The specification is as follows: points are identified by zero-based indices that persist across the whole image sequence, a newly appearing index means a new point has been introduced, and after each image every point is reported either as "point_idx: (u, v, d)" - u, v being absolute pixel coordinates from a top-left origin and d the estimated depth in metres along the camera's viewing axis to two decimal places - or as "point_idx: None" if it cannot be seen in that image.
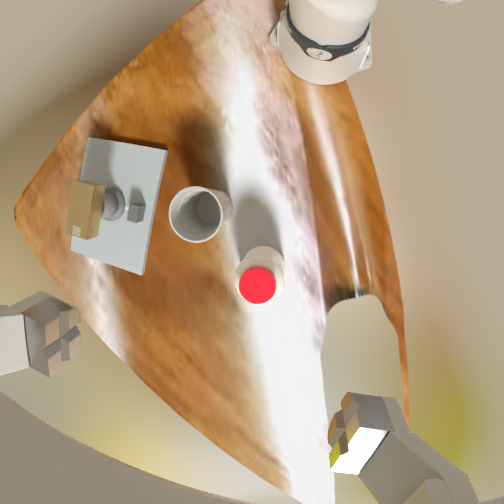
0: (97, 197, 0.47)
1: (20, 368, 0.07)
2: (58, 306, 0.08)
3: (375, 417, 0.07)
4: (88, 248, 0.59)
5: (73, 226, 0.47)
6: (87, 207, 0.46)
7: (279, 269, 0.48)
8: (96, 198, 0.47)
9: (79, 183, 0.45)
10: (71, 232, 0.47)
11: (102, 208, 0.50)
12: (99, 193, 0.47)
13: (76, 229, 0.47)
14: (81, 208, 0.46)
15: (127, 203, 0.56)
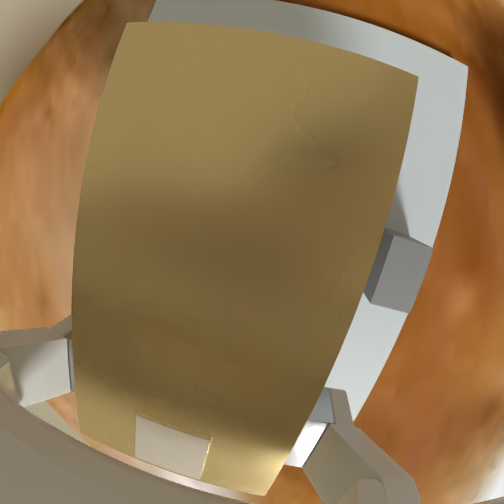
0: None
1: (61, 393, 0.07)
2: None
3: (316, 408, 0.07)
4: None
5: (136, 424, 0.06)
6: (321, 294, 0.05)
7: None
8: None
9: (213, 34, 0.04)
10: (125, 445, 0.06)
11: None
12: None
13: (166, 442, 0.06)
14: (232, 300, 0.05)
15: None
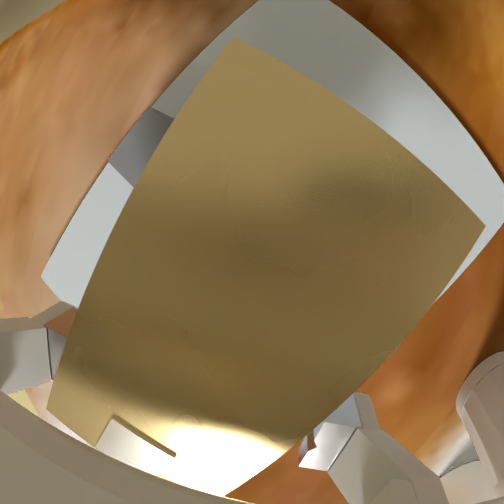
0: None
1: (42, 382, 0.07)
2: None
3: (343, 413, 0.07)
4: None
5: (108, 424, 0.06)
6: (322, 381, 0.05)
7: None
8: None
9: (323, 102, 0.04)
10: (89, 434, 0.06)
11: None
12: None
13: (131, 445, 0.06)
14: (243, 363, 0.05)
15: None
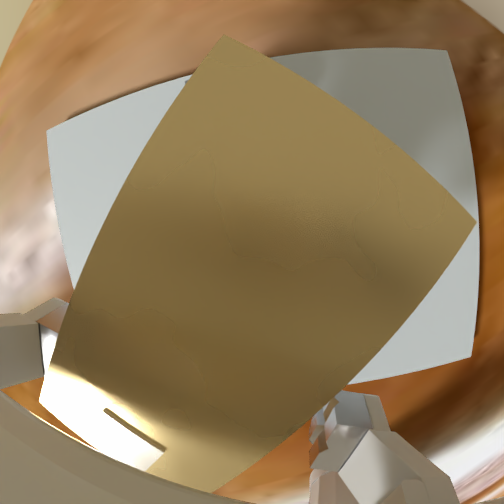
0: None
1: (34, 377, 0.07)
2: None
3: (354, 415, 0.07)
4: (74, 196, 0.16)
5: (98, 417, 0.06)
6: (310, 377, 0.05)
7: None
8: None
9: (311, 97, 0.04)
10: (80, 428, 0.06)
11: None
12: None
13: (121, 439, 0.06)
14: (230, 357, 0.05)
15: None
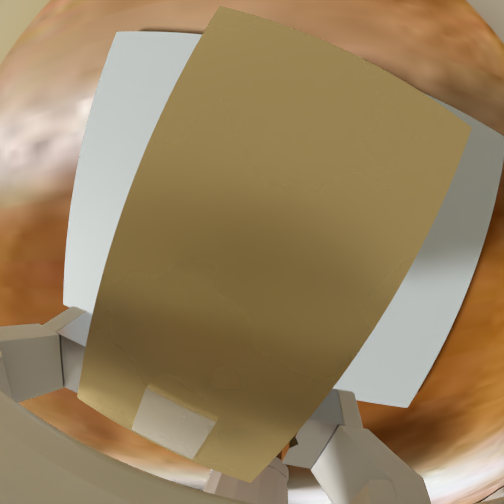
0: None
1: (54, 389, 0.07)
2: None
3: (325, 410, 0.07)
4: (115, 104, 0.15)
5: (142, 397, 0.06)
6: (354, 299, 0.05)
7: None
8: None
9: (305, 43, 0.04)
10: (124, 416, 0.06)
11: None
12: None
13: (169, 418, 0.06)
14: (273, 291, 0.05)
15: None
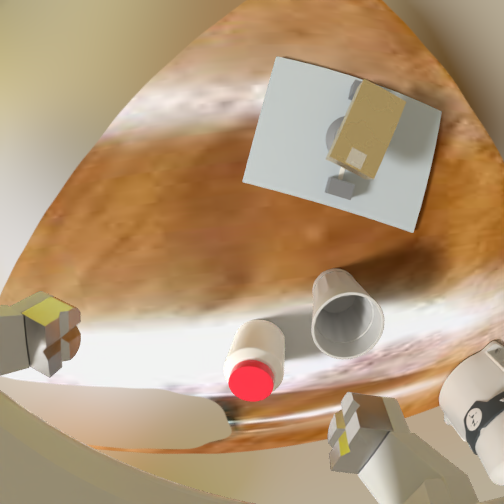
0: None
1: (20, 368, 0.07)
2: (58, 306, 0.08)
3: (375, 418, 0.07)
4: (280, 89, 0.37)
5: (351, 150, 0.28)
6: (389, 128, 0.27)
7: None
8: None
9: (378, 87, 0.26)
10: (343, 158, 0.28)
11: None
12: None
13: (355, 156, 0.28)
14: (376, 126, 0.27)
15: None
